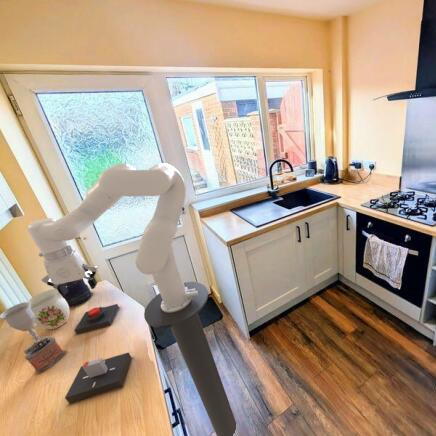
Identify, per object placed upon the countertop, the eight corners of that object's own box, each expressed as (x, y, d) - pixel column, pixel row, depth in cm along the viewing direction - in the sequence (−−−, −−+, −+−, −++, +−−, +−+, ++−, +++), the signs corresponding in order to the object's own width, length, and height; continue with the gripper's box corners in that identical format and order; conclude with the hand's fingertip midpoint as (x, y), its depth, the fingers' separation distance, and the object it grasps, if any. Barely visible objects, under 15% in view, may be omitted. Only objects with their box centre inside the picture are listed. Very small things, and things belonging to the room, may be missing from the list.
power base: (119, 307, 107) (115, 300, 105) (110, 325, 98) (106, 317, 97) (88, 315, 104) (83, 308, 103) (76, 334, 96) (71, 326, 94)
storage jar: (76, 308, 109) (59, 282, 103) (60, 306, 112) (43, 280, 106) (97, 293, 118) (83, 267, 112) (82, 291, 120) (67, 266, 114)
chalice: (32, 357, 88) (2, 320, 80) (26, 349, 91) (-3, 313, 84) (57, 341, 93) (31, 305, 86) (51, 334, 97) (25, 299, 89)
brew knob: (108, 368, 77) (101, 357, 75) (106, 373, 76) (99, 362, 74) (92, 373, 76) (84, 362, 74) (89, 378, 75) (81, 367, 73)
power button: (102, 309, 102) (100, 306, 101) (98, 315, 99) (96, 312, 98) (92, 311, 101) (90, 308, 100) (88, 318, 98) (86, 315, 97)
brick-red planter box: (61, 350, 89) (47, 331, 85) (67, 353, 88) (53, 333, 84) (34, 371, 82) (17, 351, 78) (40, 374, 81) (23, 354, 77)
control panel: (132, 358, 83) (128, 351, 82) (122, 387, 75) (118, 380, 73) (85, 372, 80) (80, 366, 79) (69, 404, 72) (64, 397, 70)
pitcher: (25, 331, 100) (5, 306, 94) (79, 305, 111) (64, 281, 105) (26, 346, 93) (4, 320, 87) (84, 316, 104) (68, 291, 98)
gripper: (21, 264, 81) (47, 303, 88) (81, 251, 85) (102, 290, 92) (35, 253, 88) (58, 290, 95) (90, 241, 92) (108, 278, 99)
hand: (80, 290), depth 94 cm, fingers open, 9 cm apart
